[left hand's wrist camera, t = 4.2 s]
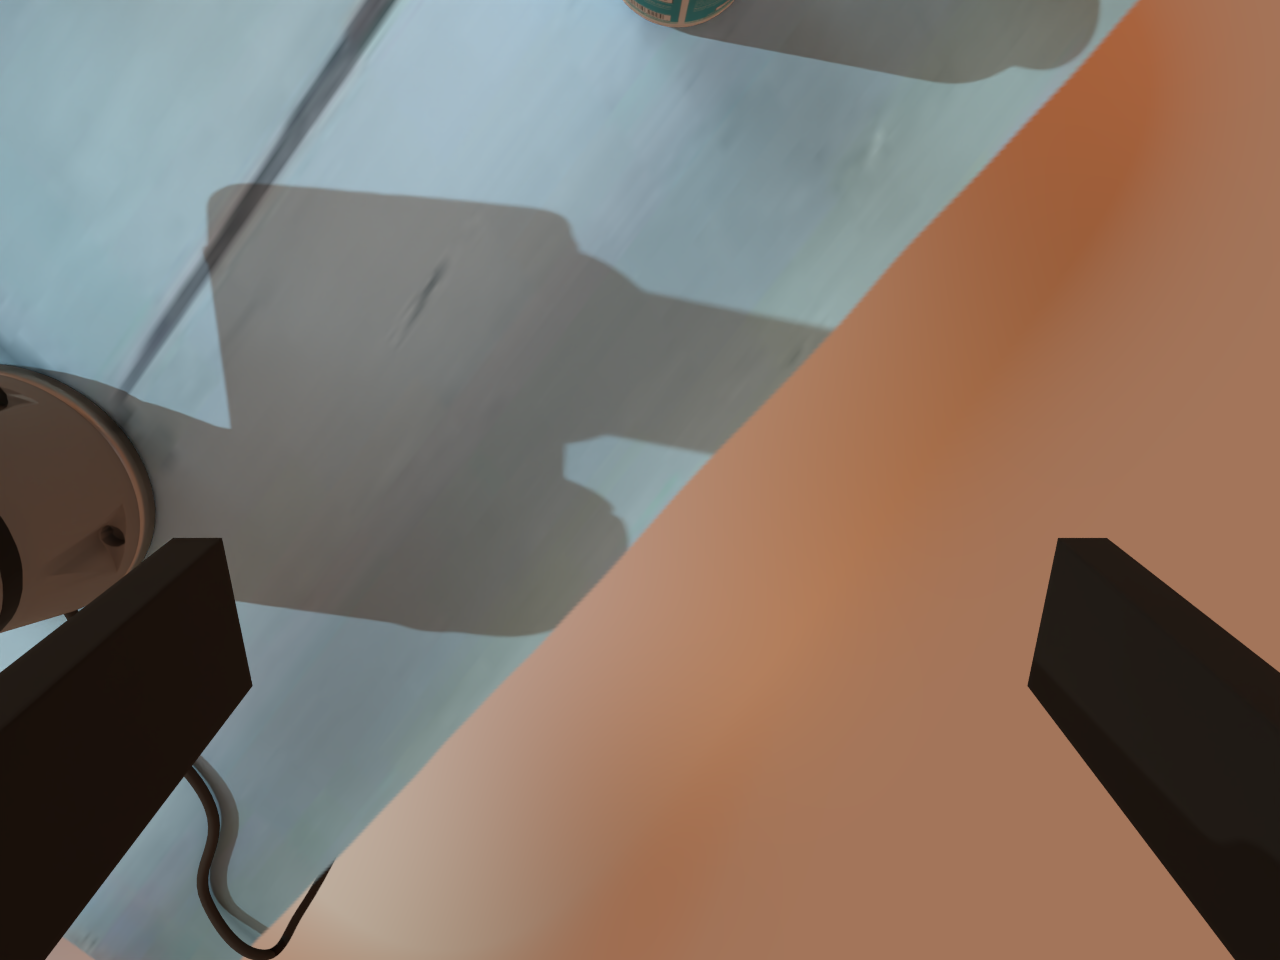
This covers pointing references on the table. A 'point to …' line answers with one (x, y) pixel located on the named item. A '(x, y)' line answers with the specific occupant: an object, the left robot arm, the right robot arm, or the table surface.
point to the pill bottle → (678, 11)
